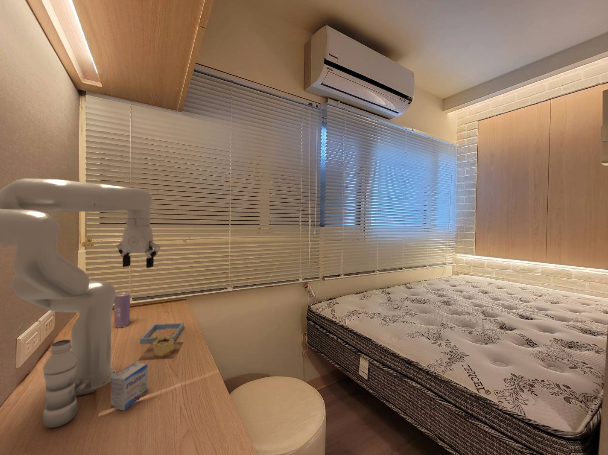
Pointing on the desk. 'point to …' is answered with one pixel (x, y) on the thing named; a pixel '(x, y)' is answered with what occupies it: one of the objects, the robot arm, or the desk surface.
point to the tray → (158, 327)
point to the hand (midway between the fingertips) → (138, 266)
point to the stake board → (149, 356)
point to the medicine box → (128, 386)
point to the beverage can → (122, 310)
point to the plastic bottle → (60, 385)
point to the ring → (163, 346)
